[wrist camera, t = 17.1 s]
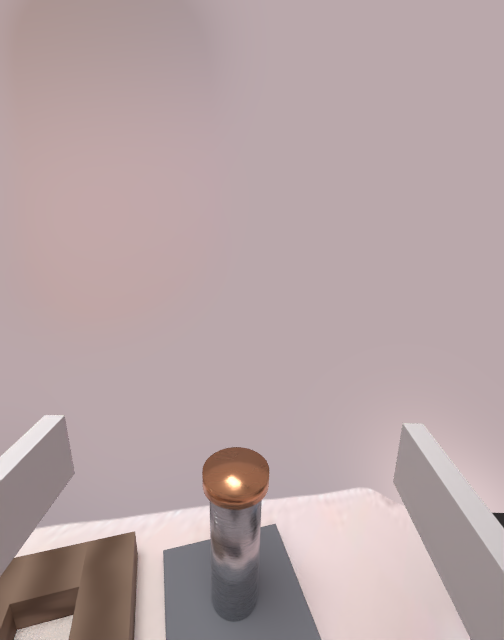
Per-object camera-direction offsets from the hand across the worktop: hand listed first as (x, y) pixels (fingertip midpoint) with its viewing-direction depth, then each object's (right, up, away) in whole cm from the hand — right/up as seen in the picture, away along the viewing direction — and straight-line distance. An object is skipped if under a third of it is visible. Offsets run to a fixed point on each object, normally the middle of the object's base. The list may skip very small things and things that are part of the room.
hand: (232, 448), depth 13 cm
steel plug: (-1, -24, +22) cm, 32 cm away
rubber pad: (-1, -24, +22) cm, 33 cm away
